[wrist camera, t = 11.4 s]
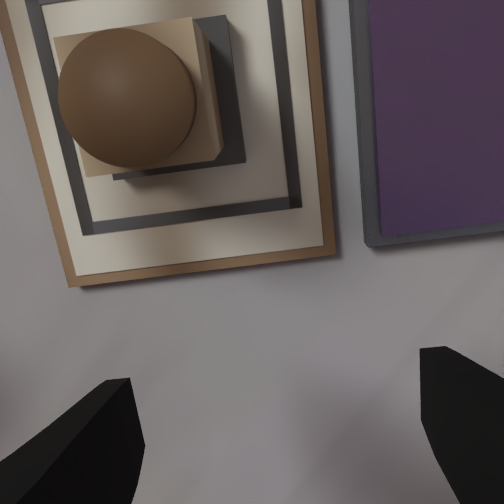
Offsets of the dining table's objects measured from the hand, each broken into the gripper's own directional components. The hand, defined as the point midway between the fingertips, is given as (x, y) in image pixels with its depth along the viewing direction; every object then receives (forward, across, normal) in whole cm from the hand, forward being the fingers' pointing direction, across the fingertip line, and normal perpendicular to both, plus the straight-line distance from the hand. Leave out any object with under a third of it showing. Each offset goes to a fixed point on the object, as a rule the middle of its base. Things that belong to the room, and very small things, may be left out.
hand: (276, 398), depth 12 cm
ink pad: (+9, -9, -6) cm, 14 cm away
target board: (+9, +3, -7) cm, 12 cm away
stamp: (+8, +3, -7) cm, 12 cm away
